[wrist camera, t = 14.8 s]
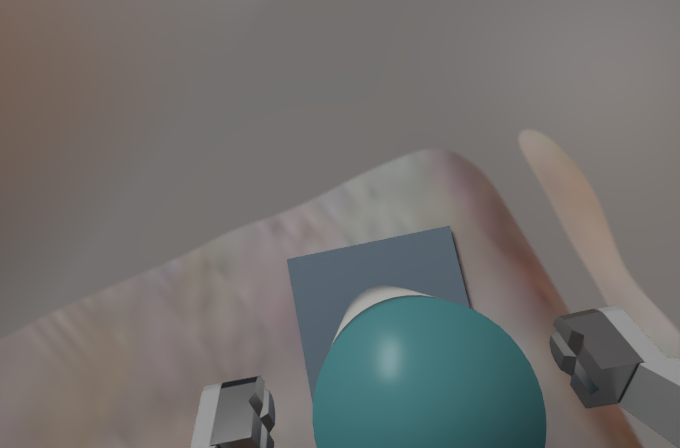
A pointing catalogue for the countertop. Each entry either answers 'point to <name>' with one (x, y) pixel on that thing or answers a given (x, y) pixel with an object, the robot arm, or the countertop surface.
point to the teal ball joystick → (424, 378)
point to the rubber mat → (368, 283)
